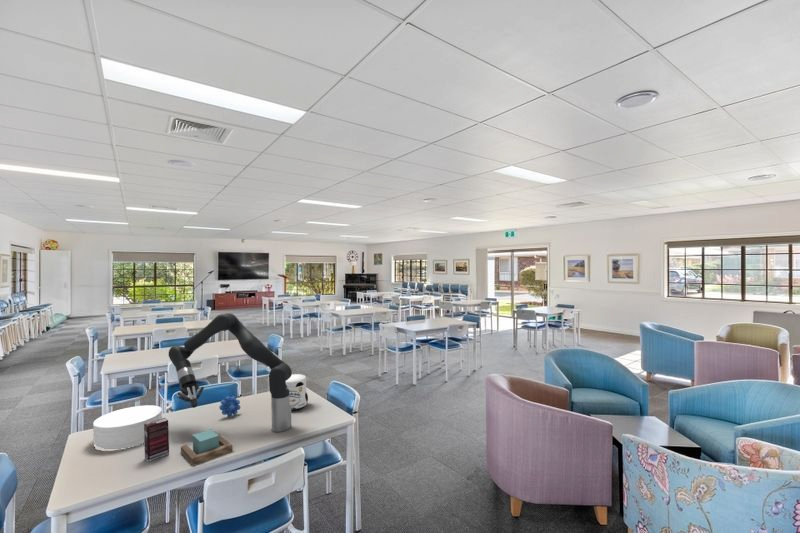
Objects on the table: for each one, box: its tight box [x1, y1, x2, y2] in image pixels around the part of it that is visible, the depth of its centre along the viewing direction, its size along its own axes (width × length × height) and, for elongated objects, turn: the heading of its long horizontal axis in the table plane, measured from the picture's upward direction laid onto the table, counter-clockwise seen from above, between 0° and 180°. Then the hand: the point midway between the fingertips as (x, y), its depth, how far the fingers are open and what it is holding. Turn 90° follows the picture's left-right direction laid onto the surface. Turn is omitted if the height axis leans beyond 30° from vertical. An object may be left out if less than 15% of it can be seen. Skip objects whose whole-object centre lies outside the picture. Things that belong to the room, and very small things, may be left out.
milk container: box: [286, 373, 309, 411], centre depth 225 cm, size 17×17×18 cm
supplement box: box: [144, 417, 170, 462], centre depth 167 cm, size 9×5×16 cm, turn 141°
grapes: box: [219, 395, 241, 418], centre depth 211 cm, size 12×7×12 cm, turn 134°
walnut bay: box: [180, 433, 233, 466], centre depth 171 cm, size 17×16×3 cm
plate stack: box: [92, 404, 163, 449], centre depth 187 cm, size 28×28×12 cm
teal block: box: [192, 429, 219, 455], centre depth 170 cm, size 8×10×8 cm
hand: (194, 406), depth 186 cm, fingers closed
